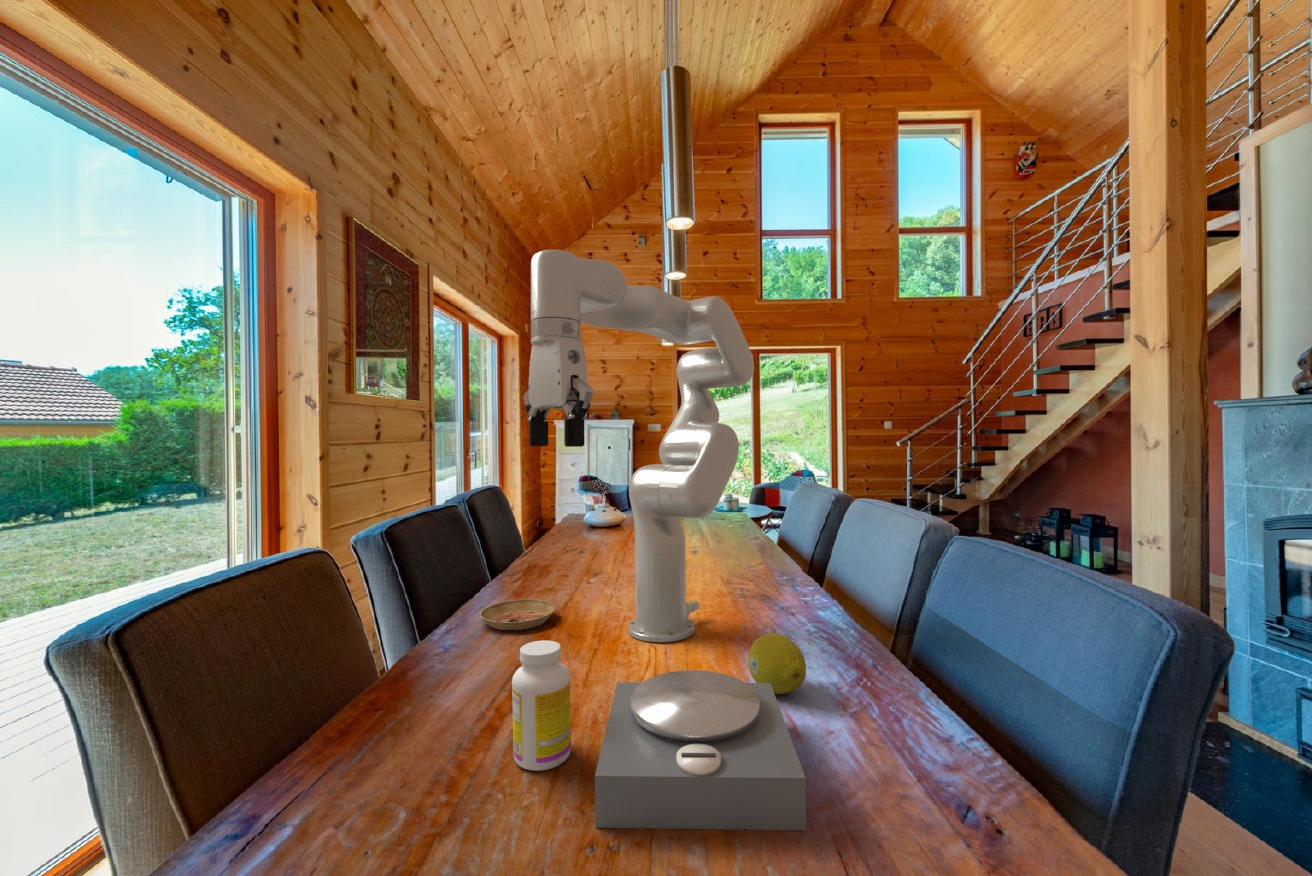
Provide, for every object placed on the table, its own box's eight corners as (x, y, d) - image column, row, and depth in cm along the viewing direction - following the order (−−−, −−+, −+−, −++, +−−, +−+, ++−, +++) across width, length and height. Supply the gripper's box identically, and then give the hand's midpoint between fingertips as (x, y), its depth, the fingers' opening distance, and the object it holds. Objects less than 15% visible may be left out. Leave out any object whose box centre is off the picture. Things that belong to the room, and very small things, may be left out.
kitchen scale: (617, 720, 74) (617, 676, 74) (770, 721, 73) (770, 676, 73) (595, 827, 54) (594, 767, 54) (806, 830, 53) (805, 769, 53)
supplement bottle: (581, 746, 68) (579, 640, 67) (553, 778, 61) (551, 662, 61) (532, 737, 70) (531, 634, 70) (501, 767, 64) (499, 654, 63)
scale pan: (635, 677, 73) (635, 670, 73) (750, 678, 73) (750, 670, 73) (625, 740, 58) (625, 731, 58) (769, 742, 58) (769, 732, 58)
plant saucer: (464, 632, 108) (463, 618, 108) (506, 608, 122) (505, 596, 122) (532, 639, 104) (532, 625, 104) (567, 614, 118) (567, 601, 118)
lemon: (741, 676, 86) (741, 625, 86) (791, 674, 87) (790, 623, 87) (761, 712, 75) (760, 652, 75) (817, 708, 76) (816, 650, 76)
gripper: (610, 329, 82) (610, 446, 82) (546, 344, 95) (546, 445, 95) (567, 322, 77) (567, 447, 77) (505, 339, 89) (505, 446, 89)
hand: (555, 446), depth 86 cm, fingers open, 9 cm apart
